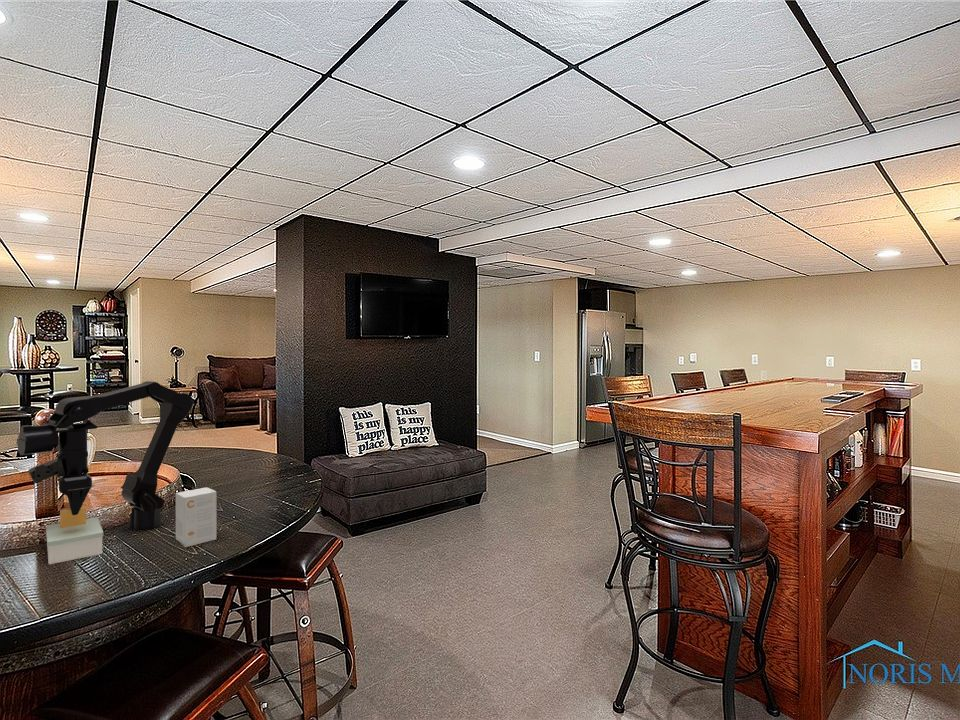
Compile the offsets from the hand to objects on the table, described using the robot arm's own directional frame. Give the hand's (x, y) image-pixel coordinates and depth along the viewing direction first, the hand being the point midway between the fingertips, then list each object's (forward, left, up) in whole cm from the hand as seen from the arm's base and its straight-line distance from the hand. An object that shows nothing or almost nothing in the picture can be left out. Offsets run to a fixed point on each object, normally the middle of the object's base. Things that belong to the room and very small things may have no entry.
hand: (73, 510), depth 131 cm
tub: (-2, +3, -10) cm, 10 cm away
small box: (-27, -6, -10) cm, 30 cm away
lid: (-2, +3, -6) cm, 7 cm away
